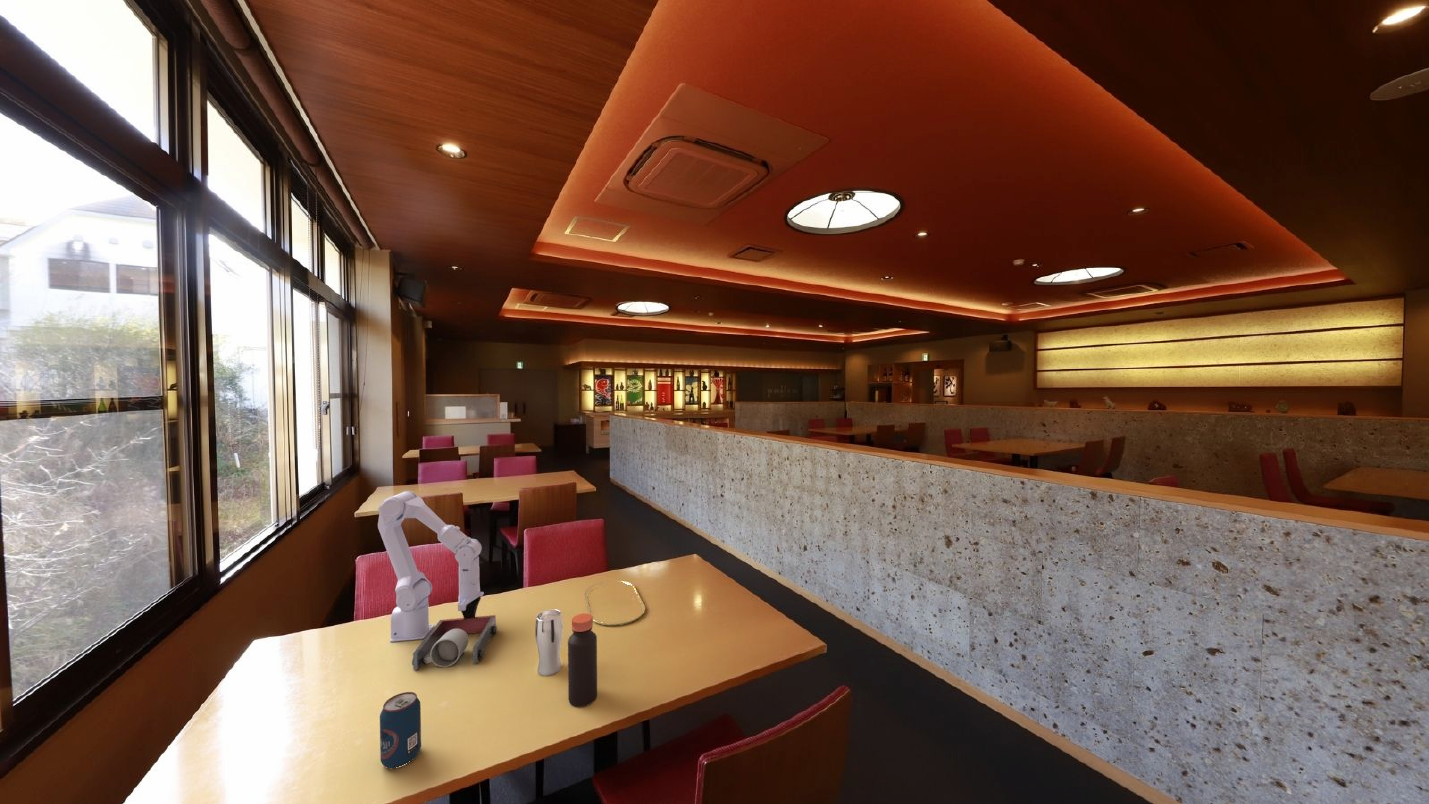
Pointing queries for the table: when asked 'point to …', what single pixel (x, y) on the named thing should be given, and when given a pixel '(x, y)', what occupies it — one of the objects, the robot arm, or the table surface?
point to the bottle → (582, 662)
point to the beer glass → (549, 641)
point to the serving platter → (616, 581)
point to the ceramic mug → (448, 648)
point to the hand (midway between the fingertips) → (469, 623)
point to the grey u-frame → (467, 624)
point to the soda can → (400, 729)
